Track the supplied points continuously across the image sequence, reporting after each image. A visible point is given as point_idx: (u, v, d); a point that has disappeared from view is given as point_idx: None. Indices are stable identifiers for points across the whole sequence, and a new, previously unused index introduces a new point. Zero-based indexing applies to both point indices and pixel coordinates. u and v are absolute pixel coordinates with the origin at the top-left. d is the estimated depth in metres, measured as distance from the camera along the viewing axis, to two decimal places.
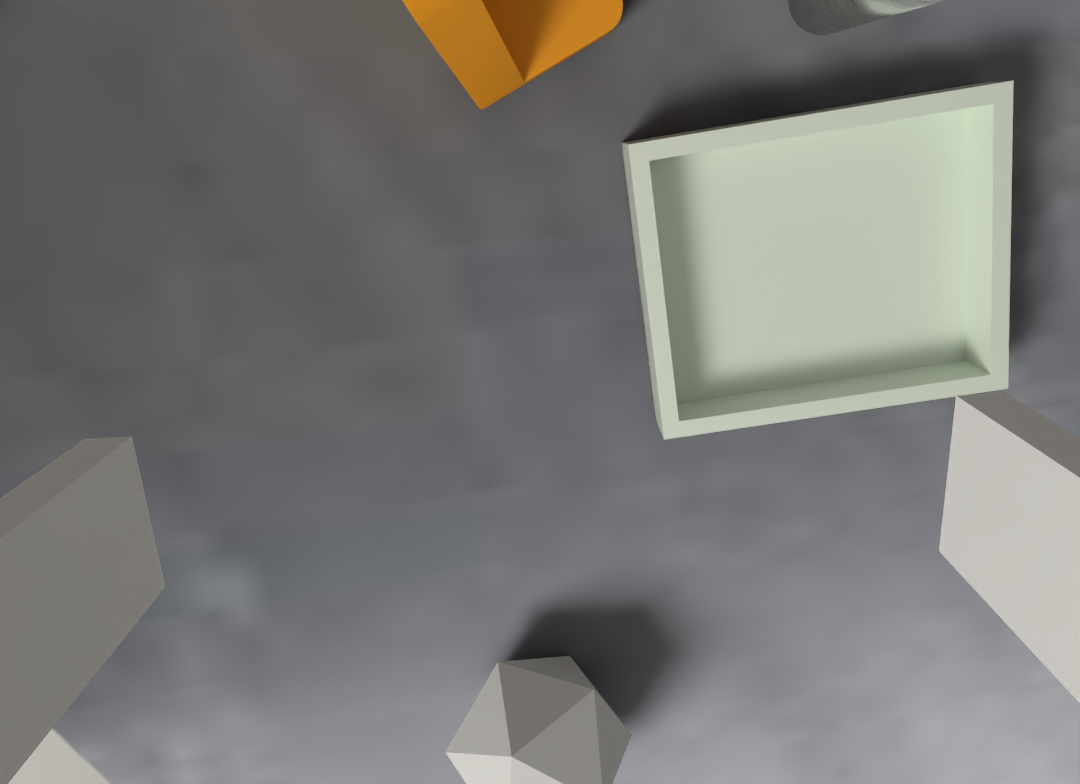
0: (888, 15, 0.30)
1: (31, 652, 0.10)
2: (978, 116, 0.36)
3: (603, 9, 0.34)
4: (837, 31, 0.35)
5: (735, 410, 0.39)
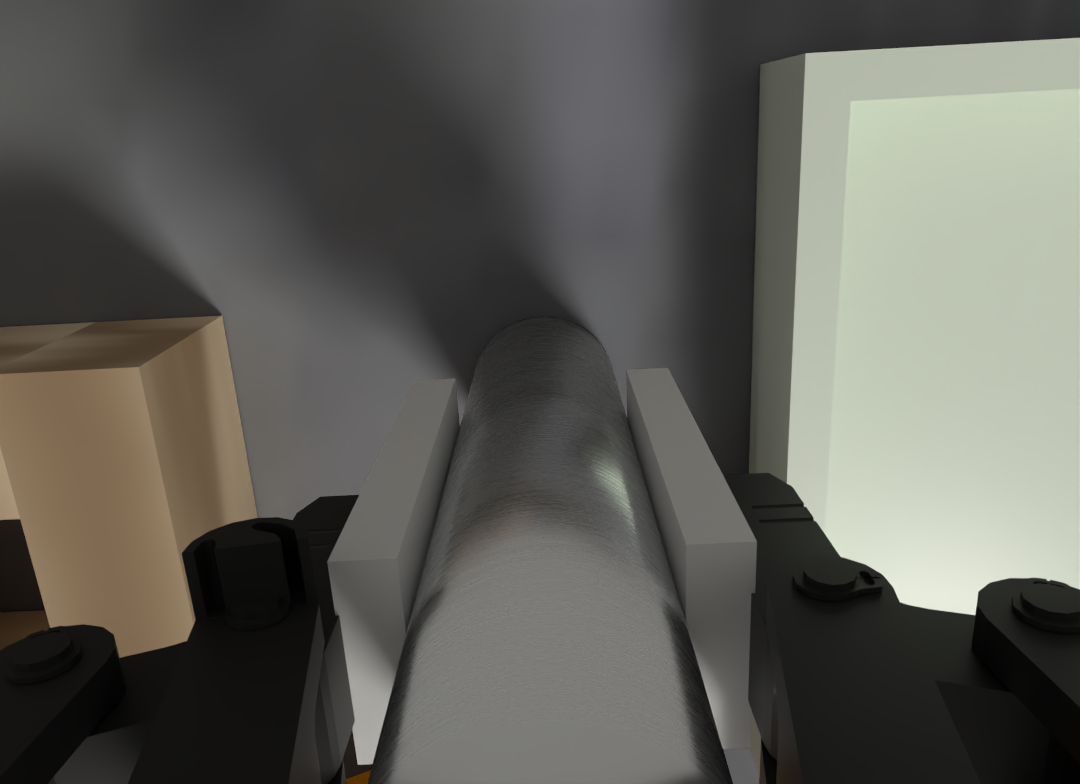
0: None
1: None
2: None
3: None
4: None
5: None
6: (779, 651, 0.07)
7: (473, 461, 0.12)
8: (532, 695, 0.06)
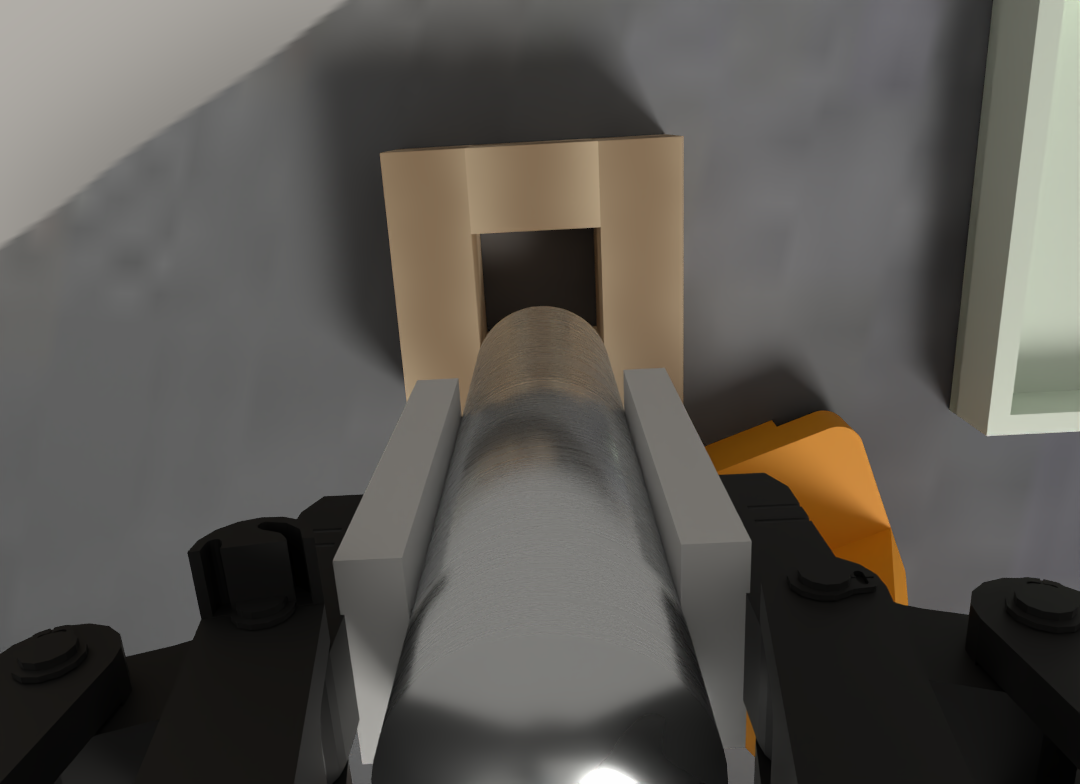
0: None
1: None
2: None
3: (839, 445, 0.32)
4: None
5: None
6: (773, 651, 0.07)
7: (477, 433, 0.13)
8: (534, 615, 0.07)
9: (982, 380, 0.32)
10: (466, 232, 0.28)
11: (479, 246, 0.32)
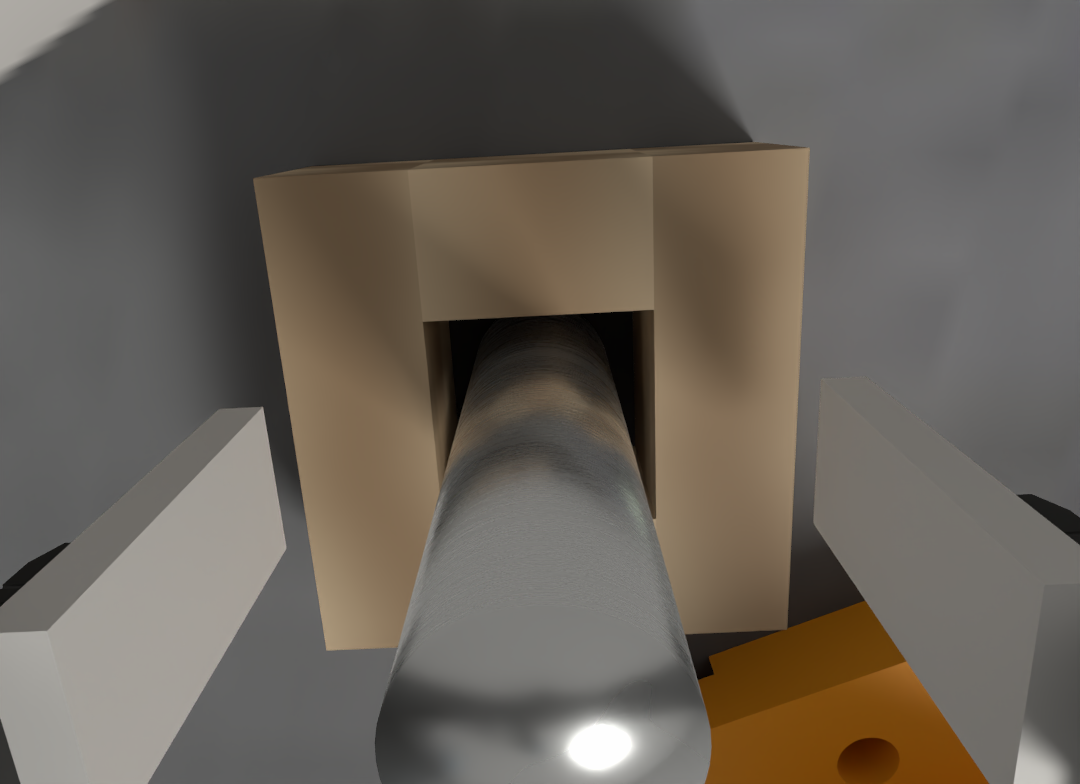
0: None
1: (203, 595, 0.11)
2: None
3: None
4: None
5: None
6: None
7: (476, 422, 0.13)
8: (528, 588, 0.08)
9: None
10: (414, 318, 0.16)
11: (445, 326, 0.19)
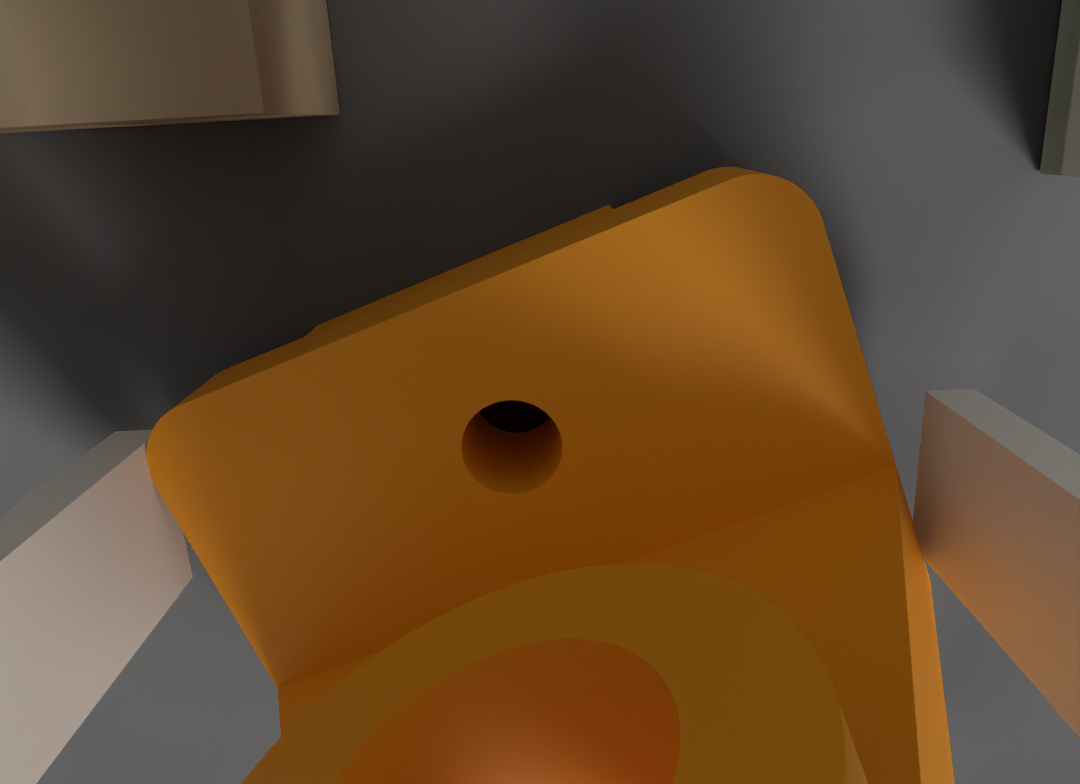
0: None
1: (71, 637, 0.11)
2: None
3: (761, 232, 0.12)
4: None
5: None
6: None
7: None
8: None
9: None
10: None
11: None
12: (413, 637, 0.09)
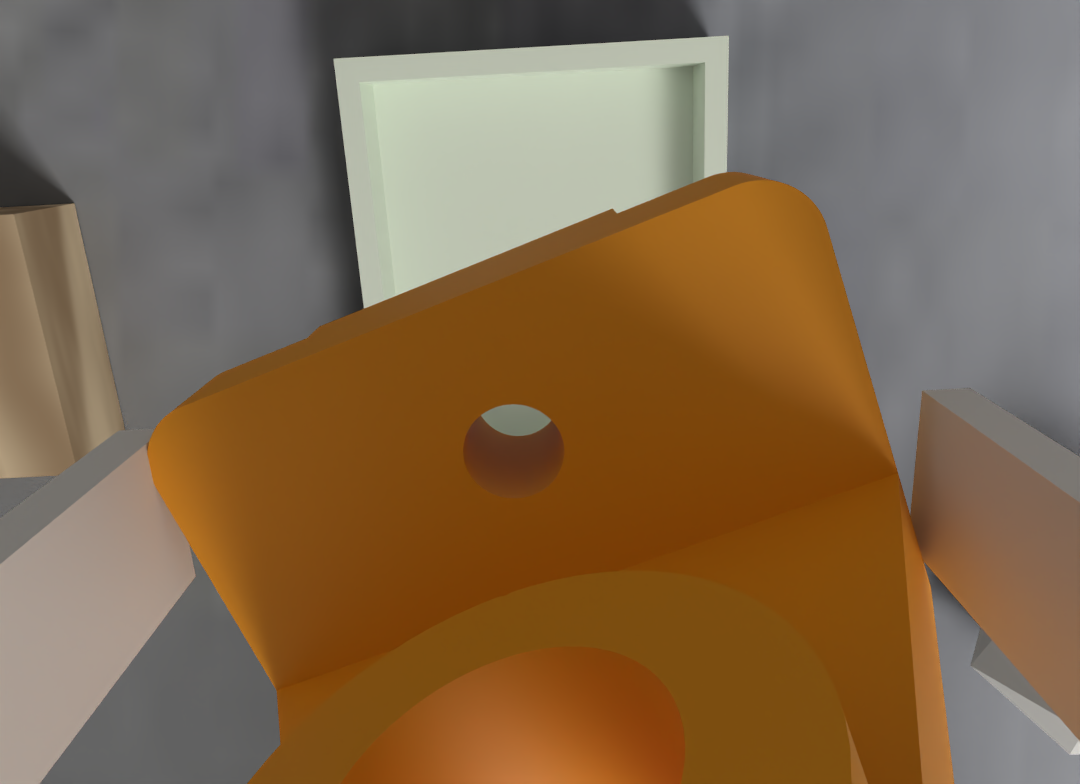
0: None
1: (76, 635, 0.11)
2: (380, 82, 0.30)
3: (766, 238, 0.12)
4: None
5: None
6: None
7: None
8: None
9: None
10: None
11: None
12: (416, 644, 0.09)
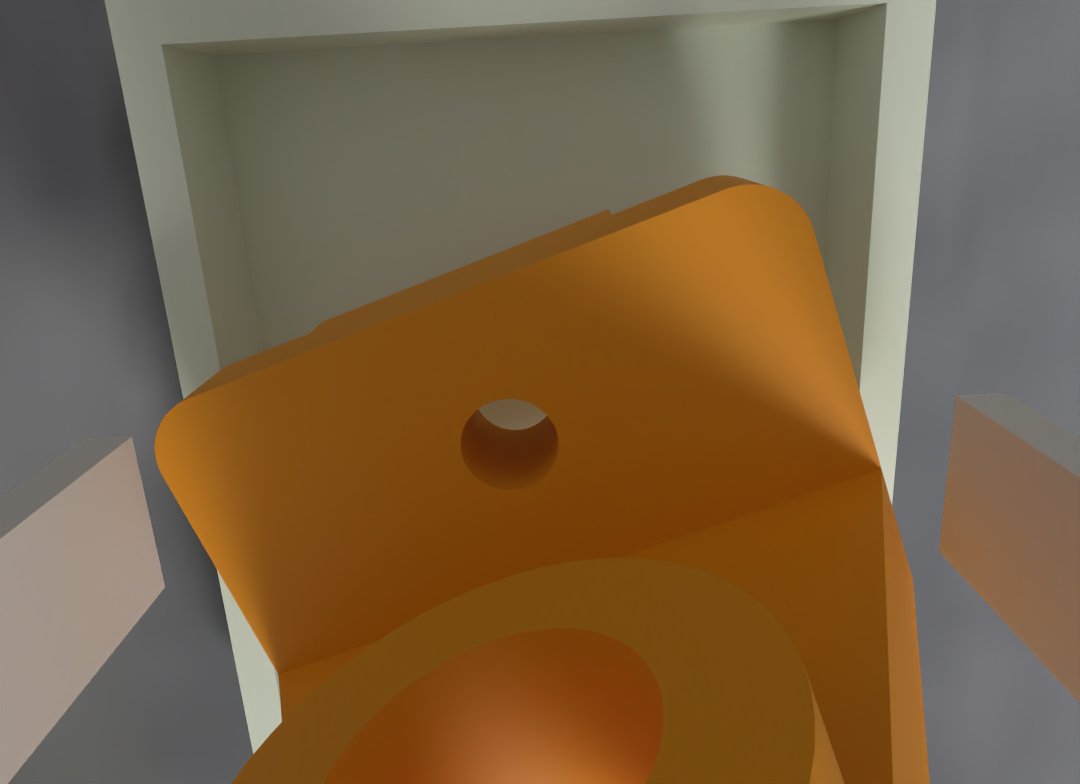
0: None
1: (31, 652, 0.10)
2: (219, 48, 0.15)
3: (755, 241, 0.12)
4: None
5: None
6: None
7: None
8: None
9: None
10: None
11: None
12: (413, 627, 0.09)
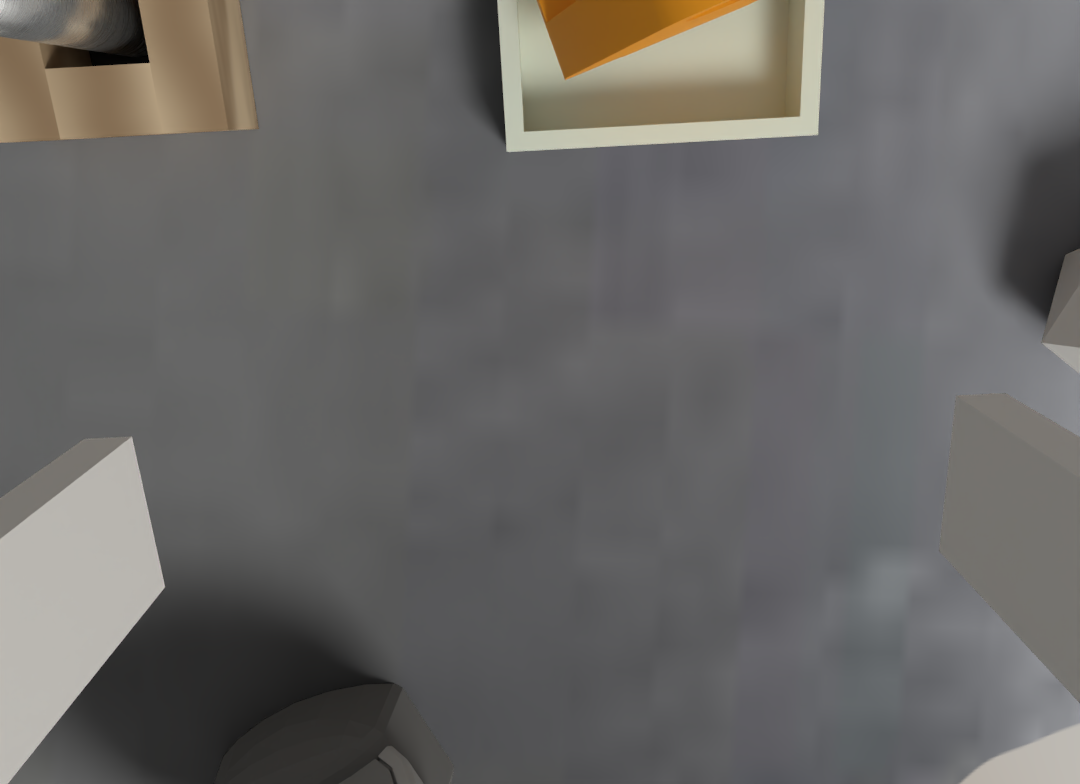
0: (81, 0, 0.31)
1: (31, 652, 0.10)
2: None
3: None
4: None
5: (800, 49, 0.35)
6: None
7: None
8: None
9: None
10: None
11: None
12: None
